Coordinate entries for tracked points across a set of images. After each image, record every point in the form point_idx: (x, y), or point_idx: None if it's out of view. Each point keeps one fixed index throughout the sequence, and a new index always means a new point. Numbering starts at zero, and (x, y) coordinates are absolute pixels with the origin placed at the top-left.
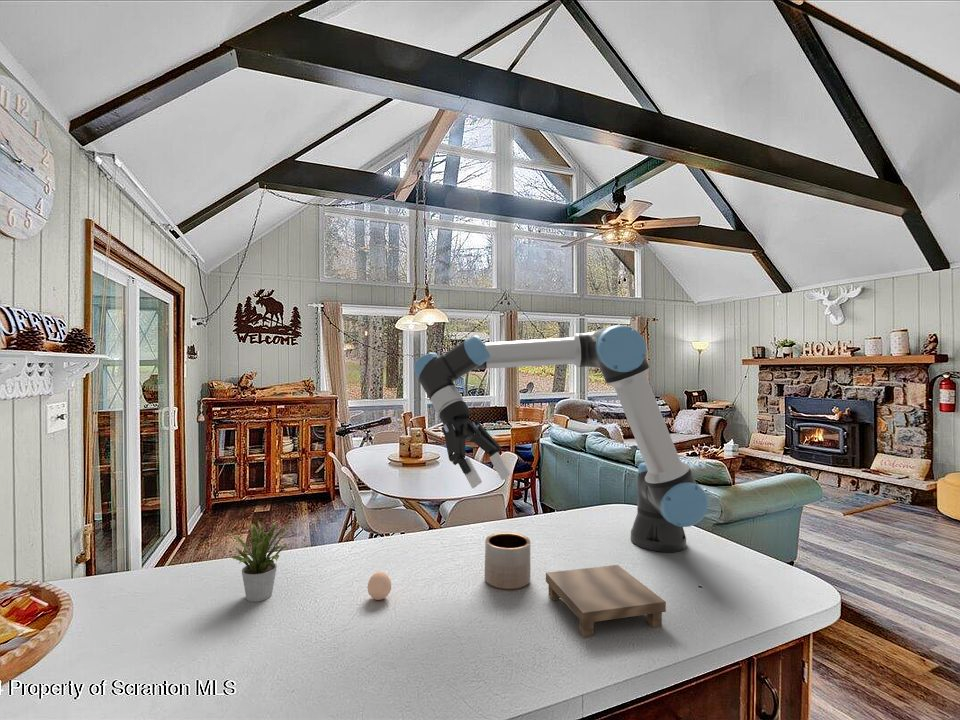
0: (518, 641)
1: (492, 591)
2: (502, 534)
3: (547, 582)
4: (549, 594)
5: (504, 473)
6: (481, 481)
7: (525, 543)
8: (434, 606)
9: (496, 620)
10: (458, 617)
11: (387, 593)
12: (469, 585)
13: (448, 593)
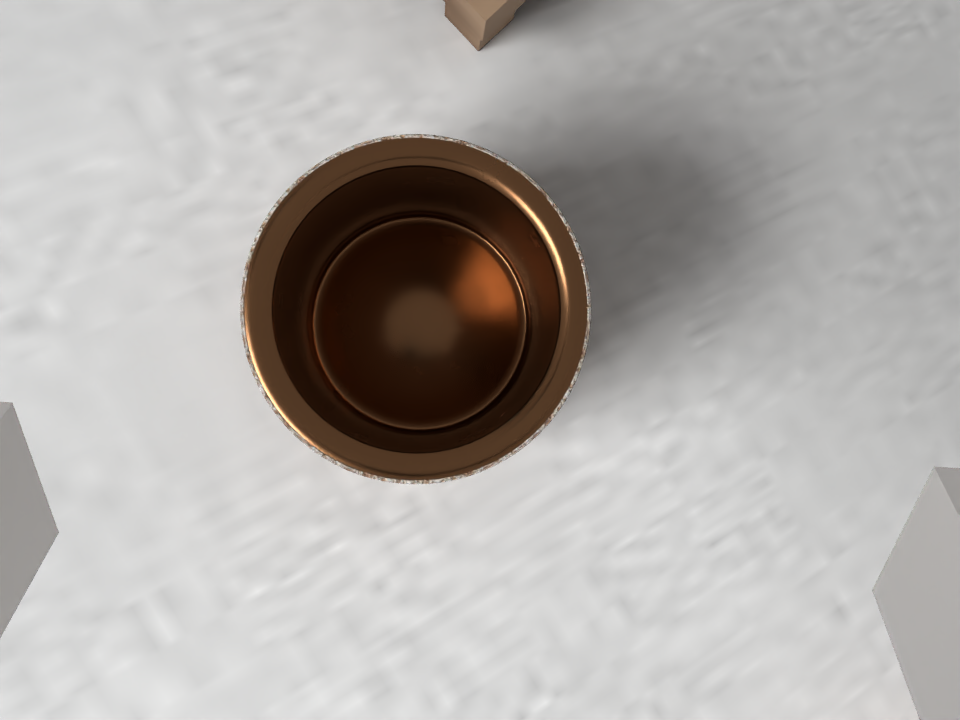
0: (940, 25)
1: None
2: (308, 408)
3: (501, 22)
4: (488, 38)
5: (2, 509)
6: (950, 475)
7: (329, 203)
8: (872, 517)
9: (835, 186)
10: (901, 357)
11: None
12: (585, 481)
13: (722, 531)
